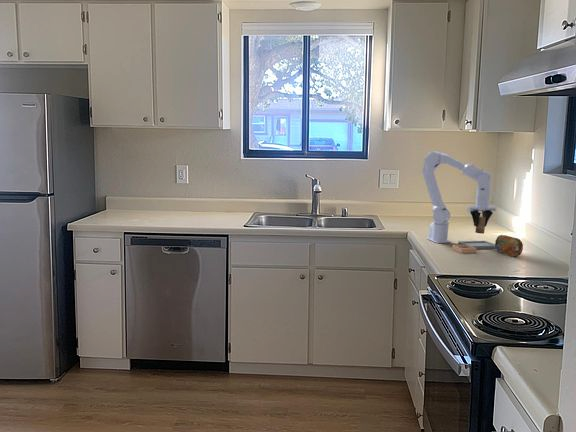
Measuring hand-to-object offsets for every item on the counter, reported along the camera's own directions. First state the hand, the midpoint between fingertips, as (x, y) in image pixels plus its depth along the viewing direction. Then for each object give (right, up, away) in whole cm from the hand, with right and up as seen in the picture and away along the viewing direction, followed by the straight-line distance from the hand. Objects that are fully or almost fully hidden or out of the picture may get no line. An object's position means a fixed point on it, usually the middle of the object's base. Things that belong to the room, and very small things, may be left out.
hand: (480, 226), depth 270 cm
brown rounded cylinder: (0, -3, 0) cm, 3 cm away
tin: (+8, -13, -13) cm, 20 cm away
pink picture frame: (-11, -11, -10) cm, 18 cm away
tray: (0, -10, +2) cm, 10 cm away
